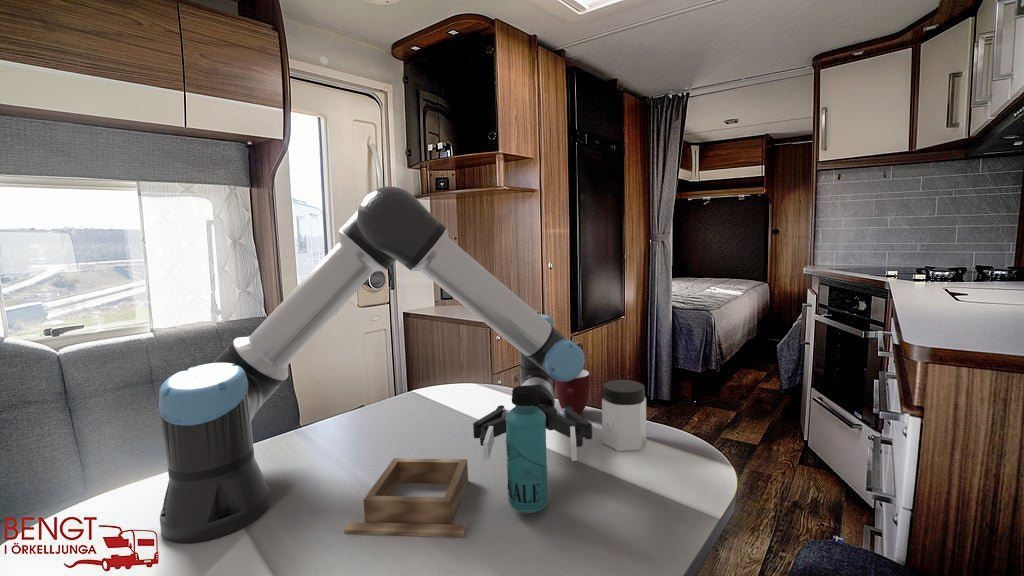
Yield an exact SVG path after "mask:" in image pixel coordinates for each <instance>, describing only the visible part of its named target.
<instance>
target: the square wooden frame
mask: <svg viewBox="0 0 1024 576" xmlns="http://www.w3.org/2000/svg"><path fill="white" fill-rule="evenodd" d="M468 470H469V467H468V459H460V458H458V459H457V458H453V459H452V458H404V457H403V458H401V457H400V458H398V457H397V458H393V459H392V460H391V461H390V463H389V464H388V465H387V467H386V468H385V469H384V471H383V472H382V473H381V475H380V476H379V477H378V479H377V480H376V482H375V483H374V485H372V487H371V489H370V490H369V491H368V493H367V494H366V496H365V497H364V499H363V512H364V521H349V522H348V523H347V525H346V526H345V528H344V529H343V533H344V534H346V535H347V534H350V535H354V534H355V535H379V536H380V535H381V536H382V535H383V536H384V535H385V536H410V537H412V536H414V537H444V538H464V536H465V533H466V530H467V525H466V524H453V523H454V521H455V518H456V516H457V512H458V510H459V507H460V505H461V502H462V499H463V496H464V494H465V491H466V488H467V486H468V482H469V471H468ZM399 484H426V485H427V484H434V485H435V484H437V485H448V486H447V487H448V488H447V490H446V492H445V495H444V497H443V496H442V497H439V496H399V495H398V496H397V495H394V496H393V494H394V492H395V491H394V490H396V489H397V488H398V486H399Z"/></svg>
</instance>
